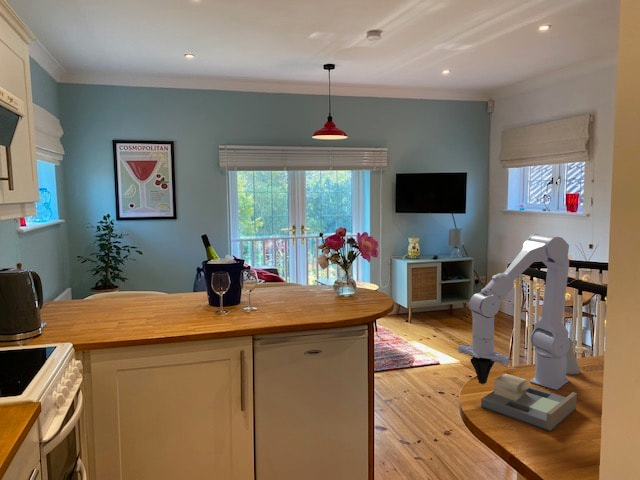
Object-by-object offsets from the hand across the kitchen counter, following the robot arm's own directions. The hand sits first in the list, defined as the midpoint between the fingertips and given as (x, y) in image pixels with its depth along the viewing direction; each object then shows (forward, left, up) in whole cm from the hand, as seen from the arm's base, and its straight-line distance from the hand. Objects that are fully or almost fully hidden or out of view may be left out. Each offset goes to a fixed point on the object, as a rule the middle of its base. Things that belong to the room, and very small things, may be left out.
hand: (482, 382), depth 135 cm
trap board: (0, +13, -3) cm, 13 cm away
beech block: (0, +8, -1) cm, 8 cm away
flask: (-33, +10, -3) cm, 35 cm away
